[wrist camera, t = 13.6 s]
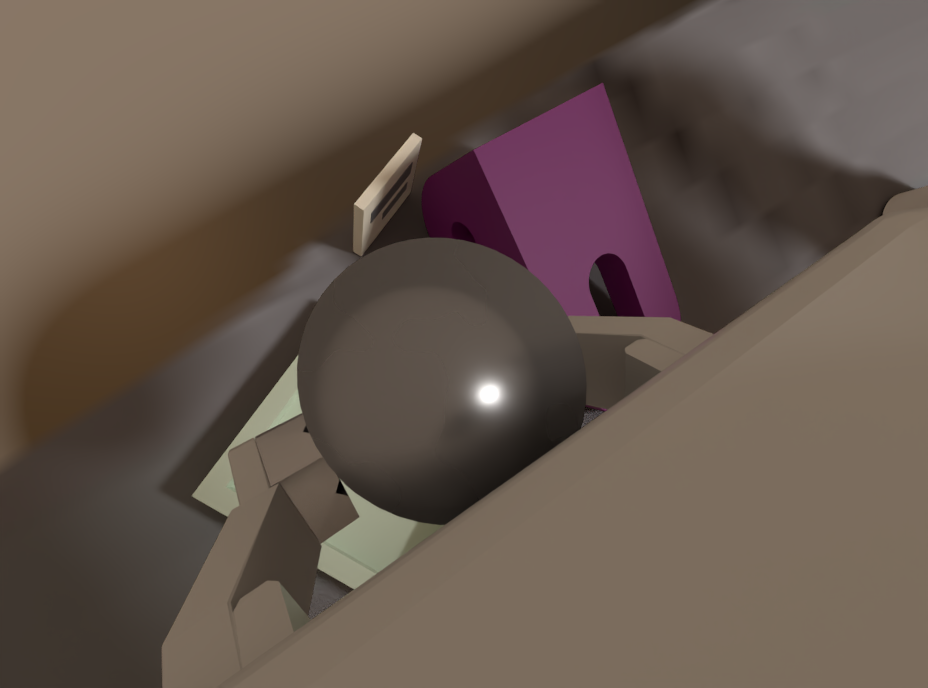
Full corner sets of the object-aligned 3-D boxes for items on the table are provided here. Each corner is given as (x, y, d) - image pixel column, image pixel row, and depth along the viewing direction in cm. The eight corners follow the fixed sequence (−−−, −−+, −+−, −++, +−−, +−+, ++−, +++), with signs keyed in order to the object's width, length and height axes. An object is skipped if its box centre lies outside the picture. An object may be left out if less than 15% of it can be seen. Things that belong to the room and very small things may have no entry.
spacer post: (475, 424, 15) (629, 345, 7) (406, 530, 14) (494, 594, 5) (381, 354, 15) (420, 189, 7) (300, 453, 14) (222, 395, 5)
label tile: (411, 192, 30) (422, 138, 25) (361, 256, 28) (364, 210, 23) (402, 187, 30) (412, 132, 25) (352, 251, 28) (353, 203, 23)
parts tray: (513, 412, 27) (524, 407, 25) (412, 615, 22) (417, 625, 21) (343, 308, 26) (342, 296, 25) (203, 495, 22) (191, 495, 20)
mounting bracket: (601, 347, 37) (512, 135, 31) (696, 358, 30) (603, 82, 24) (522, 416, 33) (405, 191, 28) (608, 447, 26) (473, 149, 20)
